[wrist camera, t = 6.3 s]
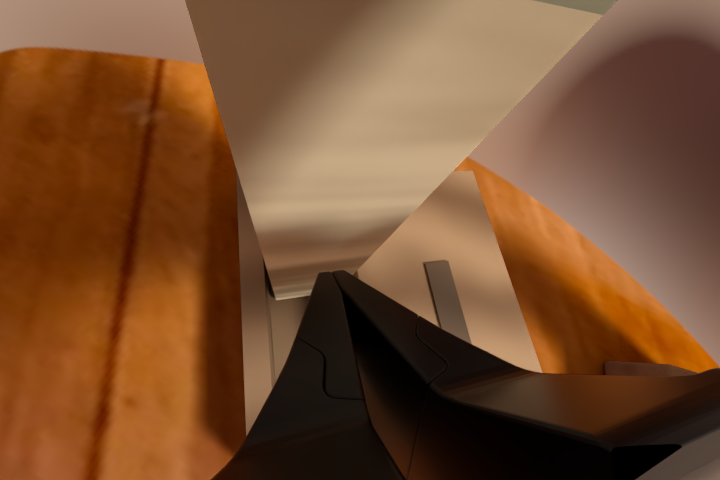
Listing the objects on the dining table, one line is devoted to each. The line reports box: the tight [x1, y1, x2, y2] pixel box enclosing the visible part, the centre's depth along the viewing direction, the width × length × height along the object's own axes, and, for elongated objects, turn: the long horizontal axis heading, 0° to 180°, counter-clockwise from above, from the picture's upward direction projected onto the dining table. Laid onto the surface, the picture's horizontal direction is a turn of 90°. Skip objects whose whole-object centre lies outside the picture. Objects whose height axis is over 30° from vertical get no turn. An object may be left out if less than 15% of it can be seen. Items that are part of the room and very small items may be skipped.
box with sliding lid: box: [236, 169, 542, 436], centre depth 17 cm, size 20×16×5 cm
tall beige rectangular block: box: [185, 0, 617, 300], centre depth 11 cm, size 5×4×19 cm
